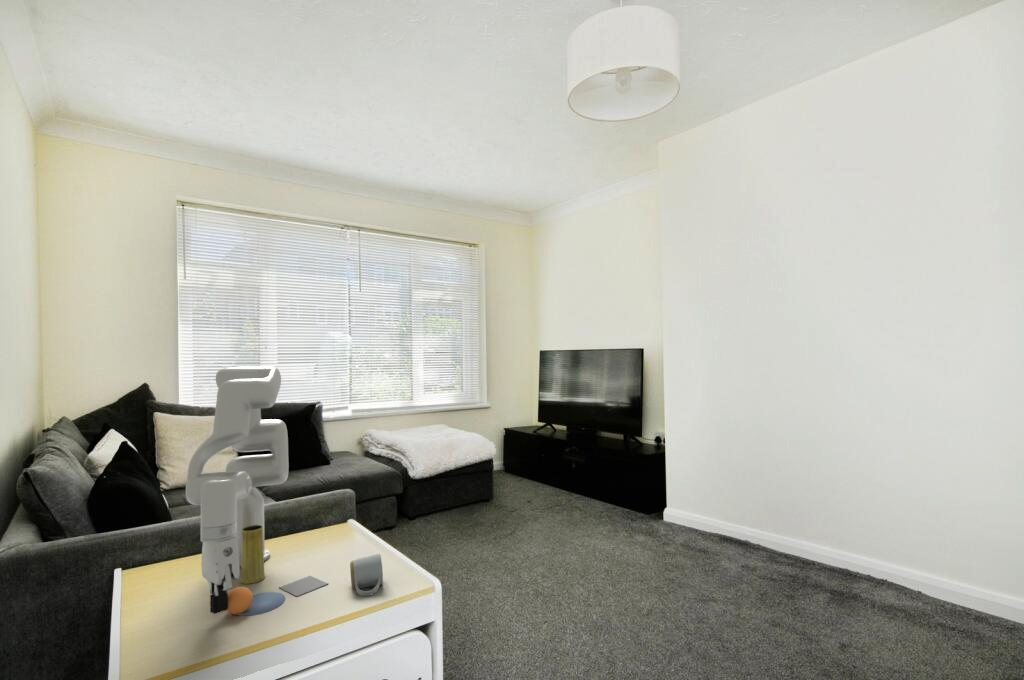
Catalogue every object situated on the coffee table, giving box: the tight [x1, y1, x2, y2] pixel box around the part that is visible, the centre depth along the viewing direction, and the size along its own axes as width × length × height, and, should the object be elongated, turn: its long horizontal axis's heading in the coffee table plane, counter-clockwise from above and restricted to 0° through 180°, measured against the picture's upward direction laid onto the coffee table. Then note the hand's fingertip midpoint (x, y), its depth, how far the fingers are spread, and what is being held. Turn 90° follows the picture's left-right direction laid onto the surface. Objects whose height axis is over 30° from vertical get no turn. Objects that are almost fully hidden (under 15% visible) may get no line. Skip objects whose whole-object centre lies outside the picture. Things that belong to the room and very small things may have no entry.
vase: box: [239, 525, 266, 585], centre depth 145 cm, size 6×6×14 cm
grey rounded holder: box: [349, 553, 384, 597], centre depth 138 cm, size 11×8×8 cm
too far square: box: [278, 575, 329, 598], centre depth 140 cm, size 9×9×1 cm
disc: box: [236, 591, 286, 617], centre depth 130 cm, size 12×12×1 cm
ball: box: [226, 586, 253, 615], centre depth 126 cm, size 6×6×6 cm
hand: (219, 610), depth 122 cm, fingers closed
